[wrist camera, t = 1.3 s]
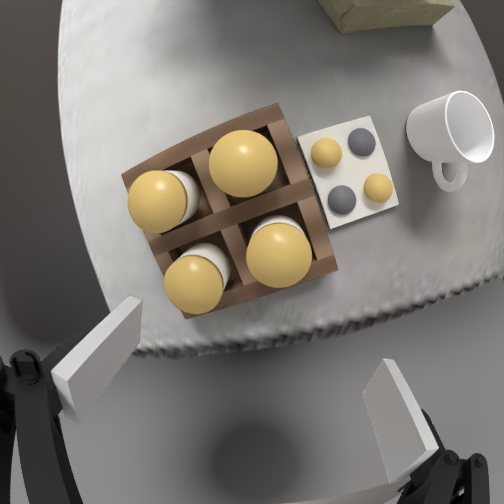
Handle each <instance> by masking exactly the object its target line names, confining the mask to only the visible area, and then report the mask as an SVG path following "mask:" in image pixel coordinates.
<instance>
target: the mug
mask: <svg viewBox="0 0 504 504" xmlns="http://www.w3.org/2000/svg"><path fill="white" fill-rule="evenodd" d="M406 131H407V137H408V140H409V142H410V145H411V146H412V148H413V150H414V151H415V152H416V153H417V154H418V155H419V156H420V157H421V158H423V159H424V160H426V161H429V162H432V170H433V175H434V179H435V181H436V183H437V184H438V186H439V187H440V188H441V189H442V190H444V191H446V192H455V191H457V190H459V189H460V188H461V187H462V186H463V185H464V183H465V181H466V178H467V175H468V170H469V163H482V162H484V161H485V160H487V159H488V158H489V156H490V155H491V153H492V150H493V146H494V130H493V125H492V121H491V119H490V116H489V114H488V112H487V110H486V109H485V107H484V106H483V104H482V103H481V102H480V101H479V100H478V99H477V98H476V97H475V96H474V95H472V94H470V93H468V92H465V91H456V92H453V93H450V94H448V95H445V96H443V97H440V98H437V99H435V100H432V101H430V102H427V103H425V104H422V105H420V106H418V107H416V108H415V109H414V110H413V111H412V112H411V113H410V114H409V116H408V119H407V124H406ZM442 163H457V172H456V175H455V178H454V179H453V180H452V181H451V182H448V181H446V180H445V179H444V177H443V174H442Z"/></svg>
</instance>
